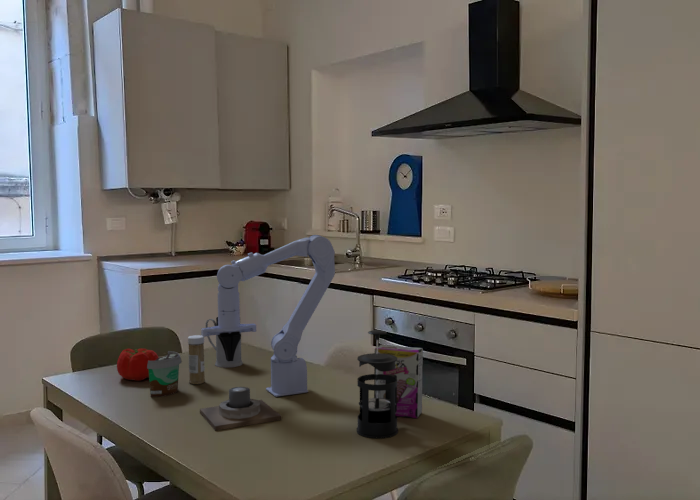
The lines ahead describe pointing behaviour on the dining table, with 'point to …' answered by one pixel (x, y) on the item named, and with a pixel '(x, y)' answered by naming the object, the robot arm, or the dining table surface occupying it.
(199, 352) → the sprinkles bottle
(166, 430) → the dining table surface
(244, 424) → the collar
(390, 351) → the candy bar box
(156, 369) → the food container
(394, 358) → the french press
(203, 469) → the dining table surface
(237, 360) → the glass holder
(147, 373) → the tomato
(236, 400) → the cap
